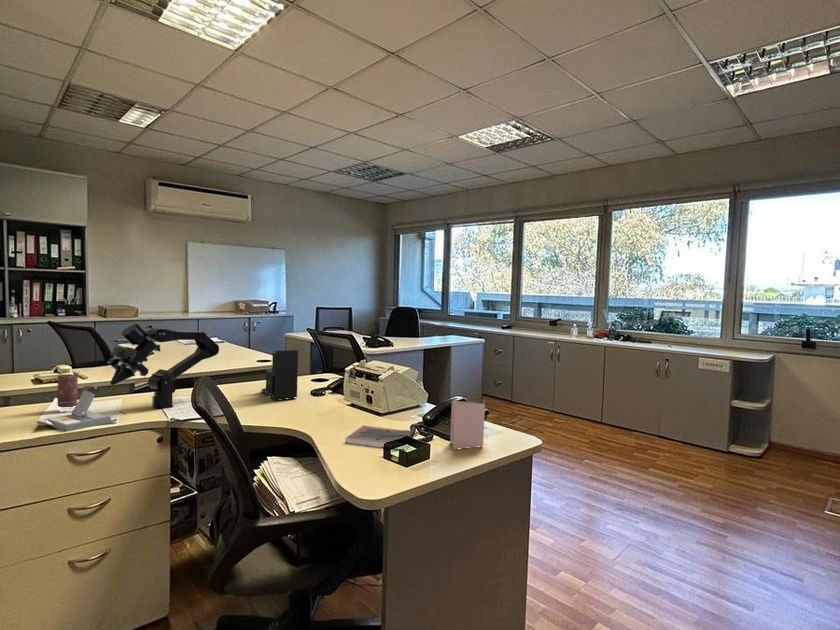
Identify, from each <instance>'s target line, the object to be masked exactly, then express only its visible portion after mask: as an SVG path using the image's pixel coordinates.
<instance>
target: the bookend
mask: <svg viewBox="0 0 840 630" xmlns="http://www.w3.org/2000/svg"><path fill="white" fill-rule="evenodd" d="M271 356H272V359H271V361H272V364H271V367H272V368H270V369H269V368H268V369H265V388H261V389H260V391H261V390H262V391H263V392H264V393H265V394H267V395H268V396H270V397H271V398H273V399H274V400H277V401H279V400H278V399H286V398H294V397H297V398H298V373H299V372H298V370H299V369H298V368H299V349H287V350H286V349H283V350H278V349H277V350H275V351H273V352H271ZM264 393H263V394H264ZM265 394H264V395H265ZM267 395H266V396H267ZM268 396H267V397H268ZM270 397H269V398H270ZM271 398H270V399H271ZM273 399H272V400H273ZM274 400H273V401H274Z"/></svg>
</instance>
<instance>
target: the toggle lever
mask: <svg viewBox="0 0 840 630" xmlns="http://www.w3.org/2000/svg"><path fill="white" fill-rule="evenodd" d="M99 390H100V389H99V388H98V387H97V386H93V385H84V386H83V389H82V393H81V395H80V397H79V399H78V400H77V405H76V407H75V409H74V410H73V411H72V412H71V414H72V415H74V416H77V417H81V418H84V417H86V412H88V411H89V408H90V406H91V405H92V402H93V401H94V398H95V396H96V394H98V393H99Z"/></svg>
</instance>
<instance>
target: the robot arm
mask: <svg viewBox="0 0 840 630" xmlns="http://www.w3.org/2000/svg"><path fill="white" fill-rule="evenodd" d="M120 335H121V336H122V337H123V338H124V339H125V340H126V341H127V342H128V343H129V344H130V345H132V346H135V345H136V347H134V349H133V348H132V347H128V346H126V347H125V348H122V347H117V346H114V347H113V350H112V351H111V353H110V355H111V356H113V357H110V358H109V359H108V360H107V361H106V363H107V364H108V365H109V366H111V367H112V368H113V369H114V370H115V371H114V373H113V376H112V378H111V379H110V382H109V384H110V385H111V386H114V385H116V384H118V383H120V382H123V381H126V380H127V379H129V378H133V377H135V376H136V373H137V372H139V375H140V376H141V377H146V376H147V375H148V374H149V369H148V367H146V366H145V365H144V364H143V362H145V363H147V362H148V357H149V356H150V355H152V353H153V352H161V344H157V342H158V343H165V342H171V341H175V340H177V341H178V340H183V341H184V340H185V341H187V340H190V341H193V340H194V342H195V344H196V345H195V346H196V349H195V350H194V352H193V353H192V354H190V355H188V356H187V357H185V358H184V359H183V360H181V361H179V362H178V363H176V364H175V365H173V366H171V367H170V368H168V369H161V368H159V369H157V370H156V371H155V372H153V373H151V375H150V377H149V378H148V380H147V385H148V387H149V388H150V389H151V392H153V395H152V397H151V399H152V404H151V406H152V407H153V408H154V409H156V410H158V409H167V408H166V407H168V408H172V407H171V406H174V405H173V396H174V395H173V394H174V393H175V392H176V390H177V387H176V386H175V385H174V383H175V380H176V379H177V378H178V377H179V376H180V375H182V374H184V373H185V372H187V371H188V370H190V369H191V368H193V367H194V366H196V365H197V364H198V363H201V361H204V360H207V359H209V358H212V357H215V356H216V355H218V354H219V351H220V347H219V344H217V343H215V341H214V340H213V339H212V338H211V337H209V336H208V335H207V334H206V333H205V331H200V330H194V331H192V330H191V331H190V330H189V331H188V330H172V329H169V328H168V329H167V328H164V327H163V328H162V327H152V328H151V327H150V329H149V330H146V331H145V330H144V329H143V328H142V327H141V326H140V325H139V324H138V323H133V324H131V325H130V326H127V327H126V328H124V329H123V330H122V331H121V334H120ZM174 407H175V406H174Z"/></svg>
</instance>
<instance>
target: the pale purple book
mask: <svg viewBox="0 0 840 630" xmlns="http://www.w3.org/2000/svg"><path fill="white" fill-rule="evenodd" d="M410 431H411V430H408V429H404V430H403V429H395V428H386V427H379V426H378V427H377V426H370V425H362V426H360V427H359V428H358V429H356V430H355V431H353V432H352V433H350V434H348V436H346V437H345V438H344V439H345V442H348V443H347V444H349V443H355V444H354V445H357V444H361V445H360V446H365V445H368V447H373V446H375V448H381V447H383V445H384V444H385V443H386V442H389V441H392V440H396V439H399V438H401V437H404V436H408V435H410ZM418 433H419V434H420V431H418V432H416V433H415V436H414V437H417V436H418ZM345 442H344V443H345Z"/></svg>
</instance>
